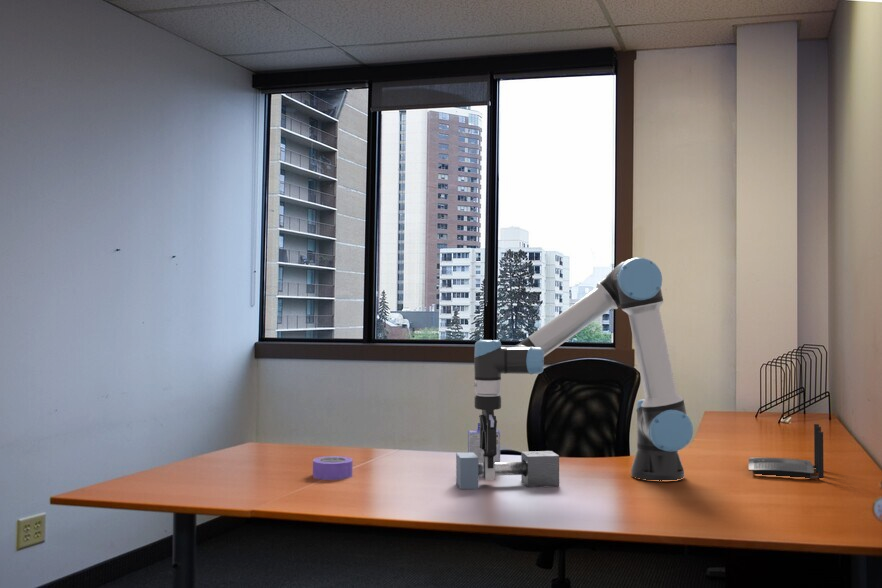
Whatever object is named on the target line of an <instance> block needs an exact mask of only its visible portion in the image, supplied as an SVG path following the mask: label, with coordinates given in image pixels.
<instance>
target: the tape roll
mask: <svg viewBox="0 0 882 588" xmlns="http://www.w3.org/2000/svg"><path fill="white" fill-rule="evenodd" d="M353 466H354V465H353V458H352V457H348V456H340V455H339V456H338V455H336V456H335V455H331V456H328V455H327V456H321V457H316V458H314V459H312V477H313V479H317V480H322V481H323V480H324V481H338V480H345V479H350V478H352V477H353V469H354V468H353Z"/></svg>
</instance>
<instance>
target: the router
mask: <svg viewBox="0 0 882 588" xmlns="http://www.w3.org/2000/svg"><path fill="white" fill-rule="evenodd" d="M813 427H814V428H813V435H814V437H813V441H814V443H813V444H814V446H813V448H814V451H813V452H814V453H813V456H814V458H813V459H814V463H812V461H811V460H807V459H798V458H797V459H796V458H783V457H749V458H748V471H750V472H752V474H762V475H776V476H790V477H805V478H810V479H813V478H824V474H825V473H824V432H823V431H822V426H820V424H819V423H815V424H813ZM813 464H814V465H813ZM814 468H816V469H814ZM815 473H816V474H818V475H814V474H815ZM824 479H825V478H824Z"/></svg>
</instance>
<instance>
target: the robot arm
mask: <svg viewBox="0 0 882 588" xmlns="http://www.w3.org/2000/svg"><path fill="white" fill-rule="evenodd" d="M662 284H663V275H662V272H661V270H660V268H659V266H658V265H657V264H656V263H655V262H653V261H652V260H651V259H648V258H645V257H639V256H637V257H632V258H629V259H627V260H623V261H621V262H620V263H618V264H617V265H616V266H615V267H614V268H613V269H612V270H611V271H610V272H609V273H608V274H607V275H606V276H605V277H603V278H602V279H601V280H599V281H598V282H597V283H596V287H595V288H594V289H592V290H591V291H590V292H589V293H587V294H585V296H584V297H581V298H580V299H579V300H577V301H576V302H575V303H573V304H572V305H571V306H569V307H568V308H567V309H565V310H564V311H562V312H561V313H559V314H558V315H557V316H555V317H554V318H553V319H551V320H550V321H548V322H547V323H546V324H544V325H543V326H541V327H540V328H539V329H537V330H536V331H535V332H533V333H531V334H530V335H529V336H528V337H526V338H525V339H524V340H522V341H520V343H518V344H515V345H513V346H512V347H511V346H510V347H509V346H508V347H506V346H502V343H501V341H500V340H498V339H493V340H492V339H479V340H477V341H476V342H475V343H474V354H473V355H474V357H473V358H474V359H473V362H474V364H473V365H474V368H473V369H474V382H473V383H472V387H474V394H476V395H475V396H474V408H475V409H476V410H480V411H481V413H480V414H479V416H478V417H479V423H480V449H481V448H486V454H484V455H483V456H484V457H485V478H484V480H485V481H493V480H496V476H495V455H497V452H496V430H497V424H498V420H497V416H496V415H495V410H500V409H501V408H502V396H501V395H500V394H502V374H503V375H504V374H507V375H508V374H510V375H511V374H512V375H513V374H517V375H536V374H542V373H543V372H544V366H545V363H544V360H545V359H544V358H545V357H546V356H548V355H549V354H550V353H551V352H553V351H554V350H556V349H557V348H558V347H560V346H561V345H563V344H564V343H565V342H567V341H569V340H570V339H571V338H573V337H574V336H575V335H577V334H578V333H580V332H581V331H582V330H584V329H585V328H586V327H588V326H590V325H591V324H592V323H594V322H595V321H596V320H598V319H600V318H601V317H603V315H605V314H606V313H608V312H609V311H610V310H611V309H613V310H618V309H619V308H621V311H623V312H624V313H626V315H628V319H629V326H630V328H631V329H630V330H631V334H632V338H633V344H634V349H635V354H636V359H637V365H638V368H639V369H638V370H639V373H640V378H641V384H642V388H643V394H644V398H643V399H639V400H638V401H637V404H636V409H635V411H636V453H635V456H634V459H633V462H632V465H631V469H630V476H631V475H632V476H633V477H636V478H640V479H646V480H659V481H660V480H661V481H662V480H677V479H681V478H683V477H684V478H685V469H684V466H683V464H682V461H681V458H680V454H679V451H681V450H682V449H684V448H686V446H688V445H689V443H690V442H691V440H692V439H693V434H694V427H693V423H692V421H691V420H692V419H690V417H689V415H688V414H687V410H686V404H685V401H684V397H682V396H681V395H680V394H678V393H677V388H676V385H675V384H676V383H675V380H674V375H673V370H672V365H671V360H670V354H669V350H668V345H667V340H666V336H665V329H664V327H663V320H662V317H661V312H660V309H661V306H662V305H663V304H664V298H663V293H662ZM632 476H631V477H632ZM633 477H632V478H633ZM636 478H635V479H636Z"/></svg>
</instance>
